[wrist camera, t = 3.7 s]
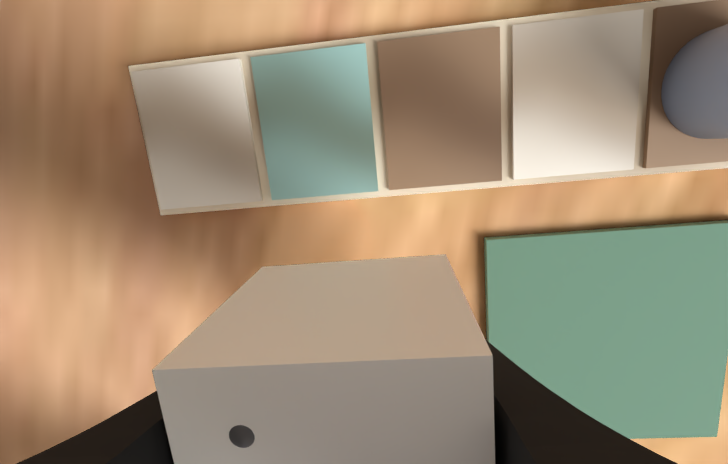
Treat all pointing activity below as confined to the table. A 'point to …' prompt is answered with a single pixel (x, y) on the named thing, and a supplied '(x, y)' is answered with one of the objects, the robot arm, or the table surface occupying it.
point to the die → (334, 370)
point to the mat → (618, 321)
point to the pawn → (699, 86)
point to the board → (425, 110)
